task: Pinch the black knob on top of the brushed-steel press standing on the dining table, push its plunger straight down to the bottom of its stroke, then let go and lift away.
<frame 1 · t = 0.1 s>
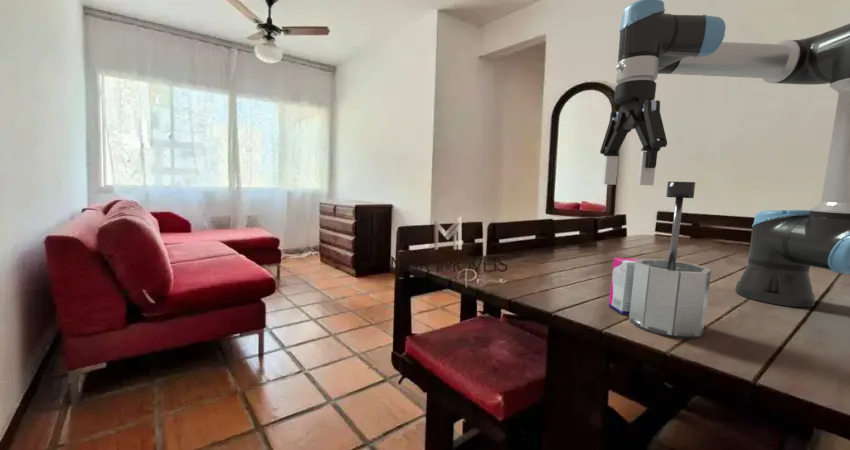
hand: (625, 185, 80), 28 cm above the table, fingers open, 13 cm apart
plunger: (675, 234, 73), point 19 cm above the table, slide at 0.0 cm
supplement box: (627, 310, 83), on the table, touching press body
press body: (664, 325, 75), on the table
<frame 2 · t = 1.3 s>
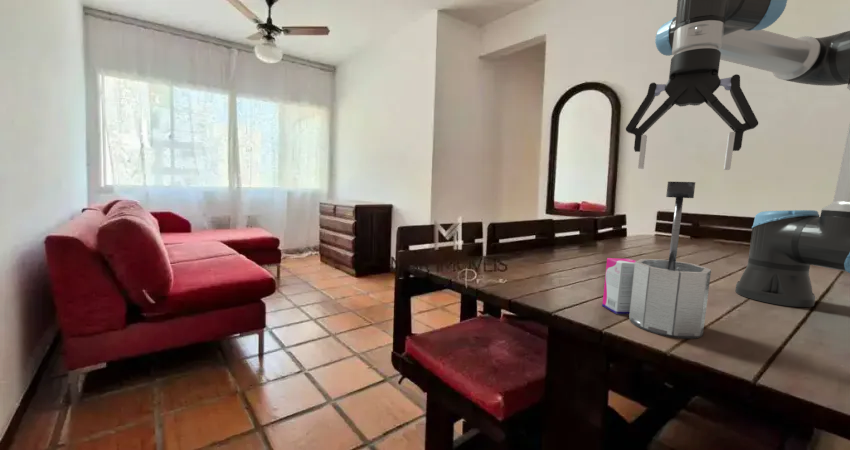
hand: (681, 169, 71), 31 cm above the table, fingers open, 13 cm apart
supplement box: (620, 310, 84), on the table, touching press body
everything else where it was.
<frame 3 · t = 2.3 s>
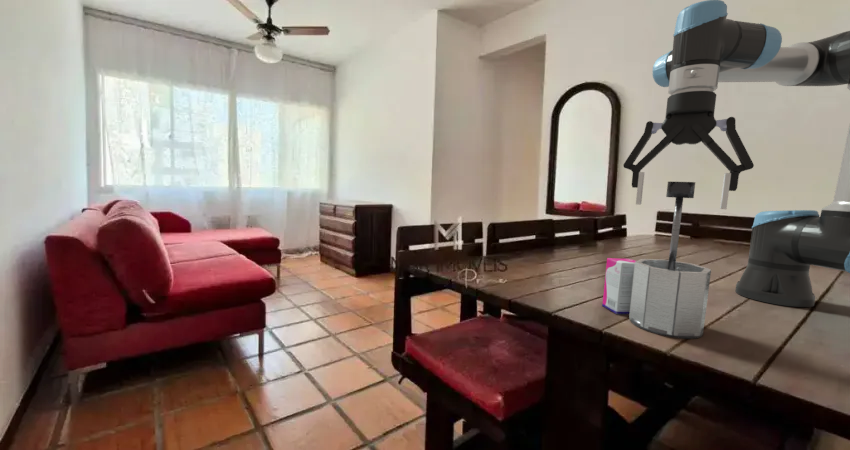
hand: (678, 206, 72), 24 cm above the table, fingers open, 13 cm apart
nothing on the table moved.
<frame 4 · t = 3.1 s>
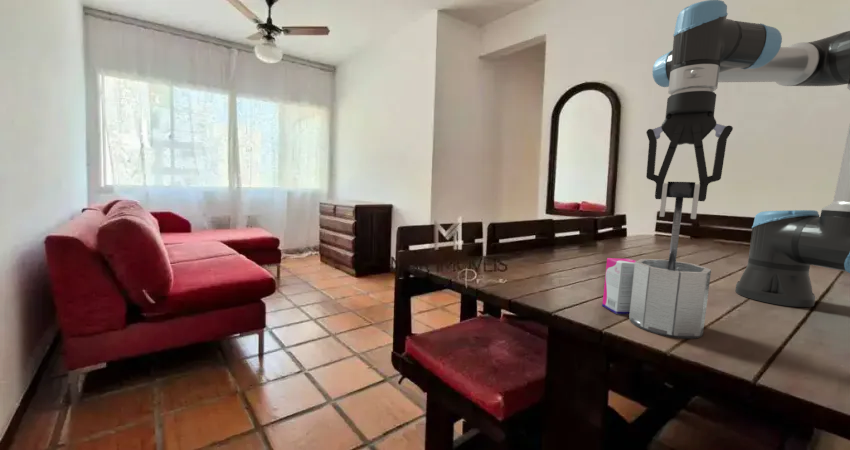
hand: (677, 217, 72), 22 cm above the table, fingers closed on plunger, 4 cm apart
plunger: (675, 234, 73), point 19 cm above the table, slide at 0.0 cm, touching gripper
everything else where it was.
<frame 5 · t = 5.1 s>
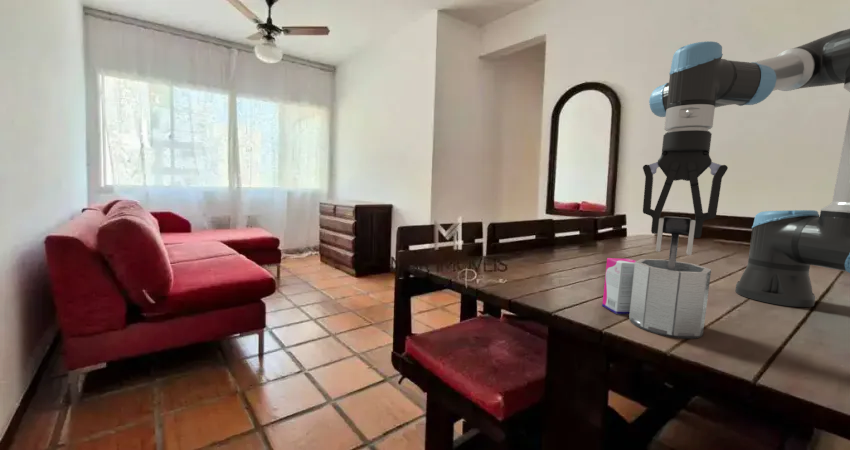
hand: (673, 251, 73), 15 cm above the table, fingers closed on plunger, 4 cm apart
plunger: (671, 268, 73), point 12 cm above the table, slide at 6.9 cm, touching gripper
everything else where it was.
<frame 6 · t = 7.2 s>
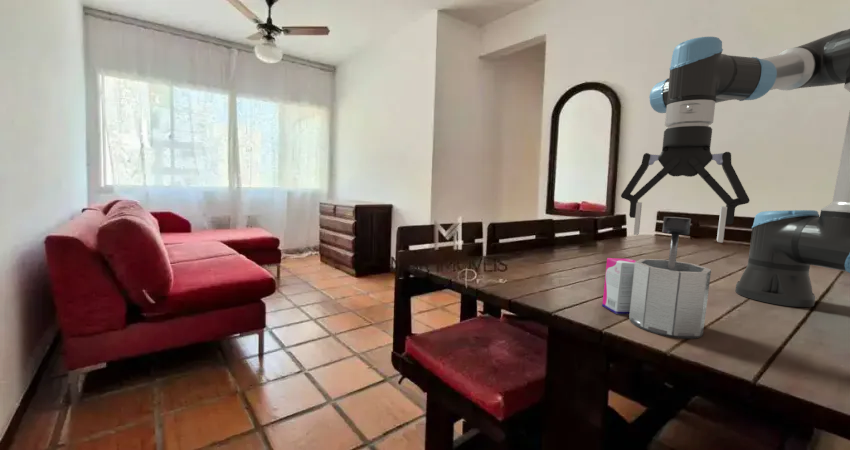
hand: (675, 237, 73), 18 cm above the table, fingers open, 13 cm apart
plunger: (671, 268, 73), point 12 cm above the table, slide at 7.0 cm
everything else where it was.
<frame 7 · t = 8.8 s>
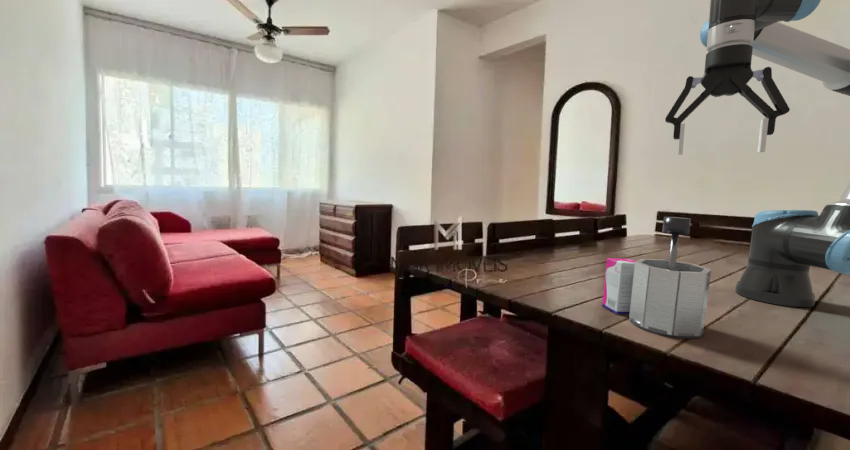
hand: (718, 153, 79), 35 cm above the table, fingers open, 13 cm apart
nothing on the table moved.
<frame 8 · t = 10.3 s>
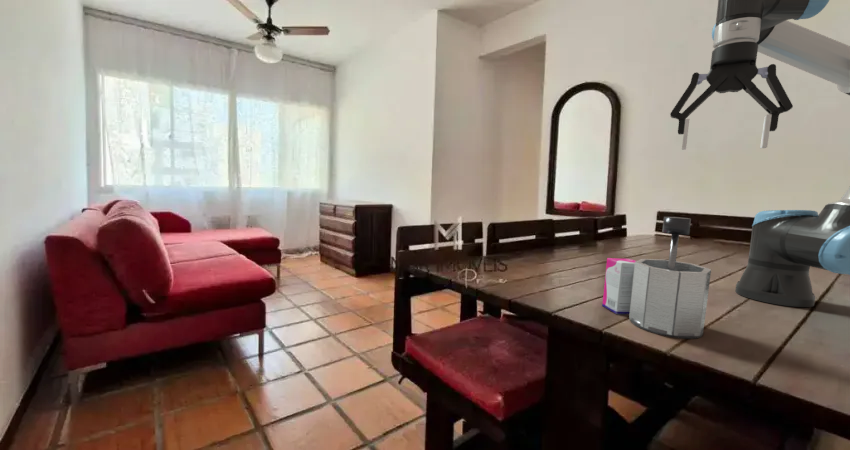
hand: (721, 148, 81), 37 cm above the table, fingers open, 13 cm apart
nothing on the table moved.
at the end: plunger slide at 7.0 cm; the gripper is holding nothing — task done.
